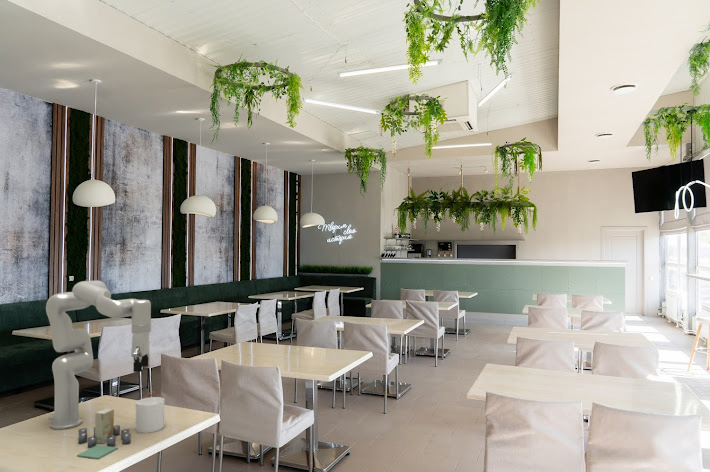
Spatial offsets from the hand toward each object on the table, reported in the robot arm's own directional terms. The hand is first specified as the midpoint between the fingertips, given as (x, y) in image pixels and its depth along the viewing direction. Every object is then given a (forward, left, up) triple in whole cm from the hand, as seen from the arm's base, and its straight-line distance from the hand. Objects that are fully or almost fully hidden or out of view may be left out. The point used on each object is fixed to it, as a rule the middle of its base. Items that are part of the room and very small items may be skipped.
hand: (141, 368), depth 210 cm
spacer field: (-11, -8, -28) cm, 31 cm away
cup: (-2, +9, -29) cm, 30 cm away
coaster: (-4, -19, -28) cm, 35 cm away
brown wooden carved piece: (-11, +22, -29) cm, 37 cm away
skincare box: (-11, -8, -29) cm, 32 cm away
